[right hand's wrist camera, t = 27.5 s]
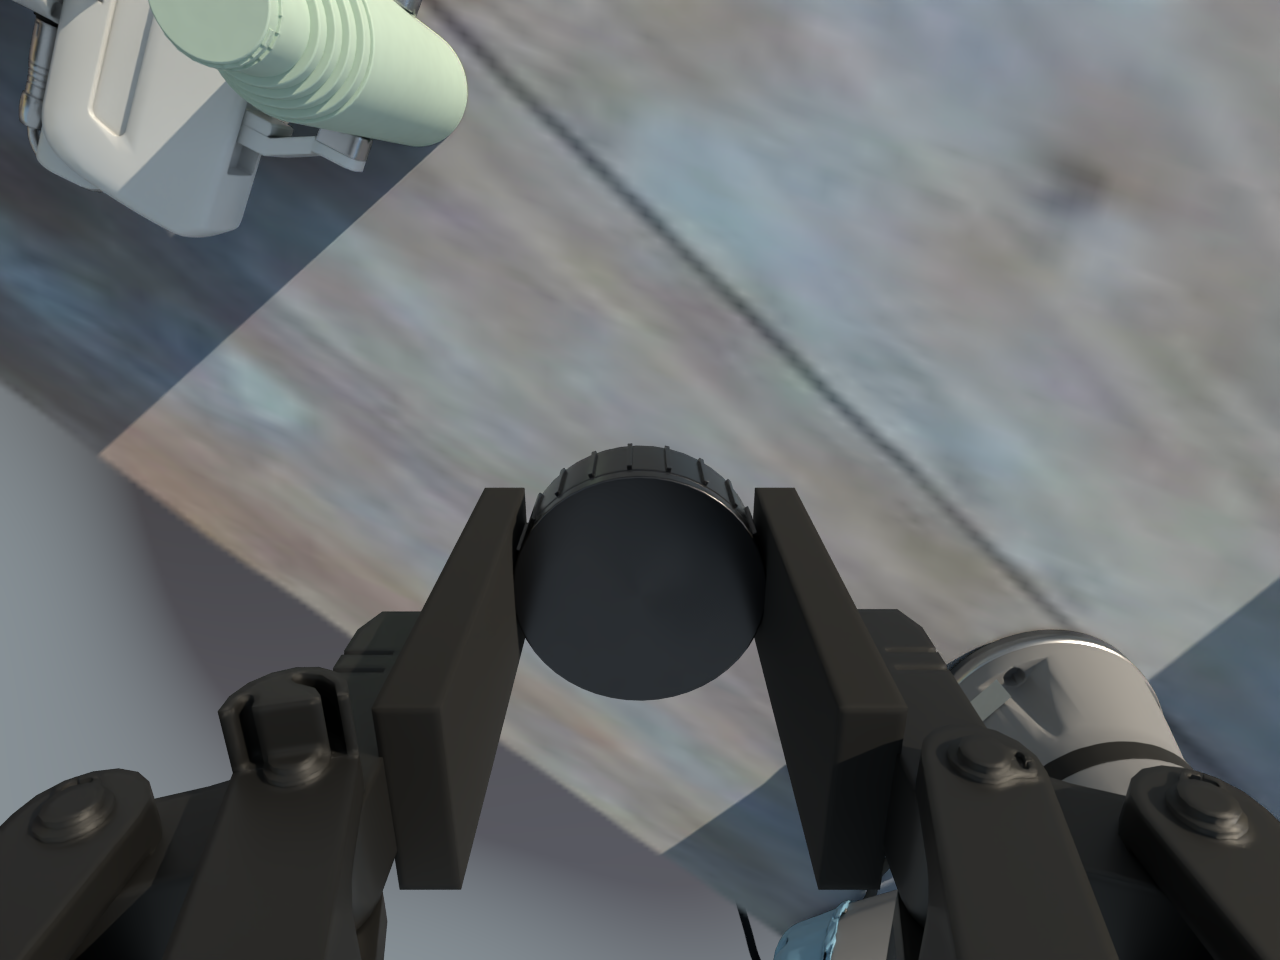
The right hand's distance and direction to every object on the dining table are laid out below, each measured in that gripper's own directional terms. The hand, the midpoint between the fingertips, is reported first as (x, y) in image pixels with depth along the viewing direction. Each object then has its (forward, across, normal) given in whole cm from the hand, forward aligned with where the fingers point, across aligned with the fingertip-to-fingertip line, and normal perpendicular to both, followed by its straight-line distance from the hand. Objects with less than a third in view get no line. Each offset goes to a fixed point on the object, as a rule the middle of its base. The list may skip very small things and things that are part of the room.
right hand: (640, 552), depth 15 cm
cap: (-1, 0, 0) cm, 1 cm away
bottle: (+29, +11, -11) cm, 33 cm away
